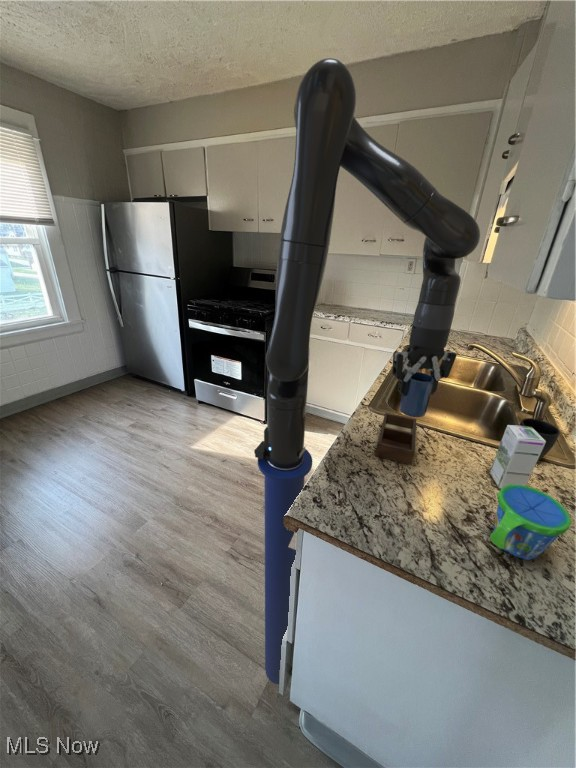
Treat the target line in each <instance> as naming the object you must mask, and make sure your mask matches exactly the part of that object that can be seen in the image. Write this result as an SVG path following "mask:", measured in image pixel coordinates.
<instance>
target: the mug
mask: <svg viewBox="0 0 576 768" xmlns="http://www.w3.org/2000/svg"><path fill="white" fill-rule="evenodd" d="M518 426H527V427H532V428H533V429H534V430H535V431H536V432H537V433H538V434H539V435H540V436H541V437H542V438H543V439H544V440H545V441H546V443H545V445H544V447H543V450H542V452H541V454H540V456H539V458H538V461H537V463H539V462H540V461H541V459H543V458H544V457H545V456H546V455H547V454H548V453H549V452H550V451H551V449H552V448H553V447H554V445H555V444H556V442H557V440H558V438H559V436H560V433H561V432H560V429H559V428H558V427H557V426H556V425H553V424H551V423H549V422H547V421H544V420H541V419H538V418H529V417H527V418H523V419H521V421H520V423H519V424H518ZM505 430H506V427H505V428H504V433H505ZM504 433H503V434H504Z"/></svg>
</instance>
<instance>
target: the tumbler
mask: <svg viewBox="0 0 576 768" xmlns="http://www.w3.org/2000/svg"><path fill="white" fill-rule="evenodd" d="M408 381H409V385H408V390H407V394H406V396H402V395H401V397H400V403H399V408H398V409H399V411H400V413H402V414H403V415H404V416H405V415H406V416H407V417H410V418H422V417H423V418H424V416H426V414H427V411H428V407H429V402H430V400H431V399H430V398H431V396H432V395H431V391H432V387H433V383H434V378H433V377H432V376H430V374H428V373H425V372H421V371H417V372H416V373H415V374H413V375H412V376H411V378H410V379H409V380H408Z"/></svg>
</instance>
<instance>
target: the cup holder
mask: <svg viewBox="0 0 576 768" xmlns="http://www.w3.org/2000/svg"><path fill="white" fill-rule="evenodd" d="M416 434H417V418H415V417H410V416H405V415H399V414H394V413H391V412H390V413H389V412H384V416H383V419H382V423H381V428H380V433H379V437H378V440H377V446H376V451H375V457H378V458H382V459H387V460H390V461H393V462H397V463H402V464H404V465H405V464H406V465H410V466H412V464H413V462H414V461H413V460H414V457H415V453H416Z"/></svg>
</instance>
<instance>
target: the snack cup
mask: <svg viewBox="0 0 576 768" xmlns="http://www.w3.org/2000/svg"><path fill="white" fill-rule="evenodd" d="M496 496H497V497H496V499H497V503H498V504H497V509H496V513H495V519H494V526H493V531H492V533H490V534H489V539H490V542H492V544H493V545H495V546H496V547H497V548H499V549H501V550H503V551H505V552H507V553H509V554H510V555H512V556H514V557H517V558H520V559H523V560H526V561H531V560H533V559H534V560H535V559H537V558H538V557H539V556H540V555H542V554H543V553H544V551H546V550H547V549H548V548H549V547H550V546H551V544H552V543H554V542H555V540H556V539H558V537H559V536H561V535H564V534H565V533H566V532H567V531H568V530H569V528H570V527H571V526H572V519H571V516H570V513H569V512H568V510H567V509H566V508H565V507H564V506H563V505H562V504H561V503H560V502H559V501H557V500H556V499H555V498H554V497H552V496H551V495H548V494H547V493H545V492H544V491H541V490H539V489H537V488H535V487H531V486H527V485H526V486H524V485H517V484H511V485H506V486H504V487H503V488H502V489H500V490H499V492H497V495H496Z"/></svg>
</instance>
